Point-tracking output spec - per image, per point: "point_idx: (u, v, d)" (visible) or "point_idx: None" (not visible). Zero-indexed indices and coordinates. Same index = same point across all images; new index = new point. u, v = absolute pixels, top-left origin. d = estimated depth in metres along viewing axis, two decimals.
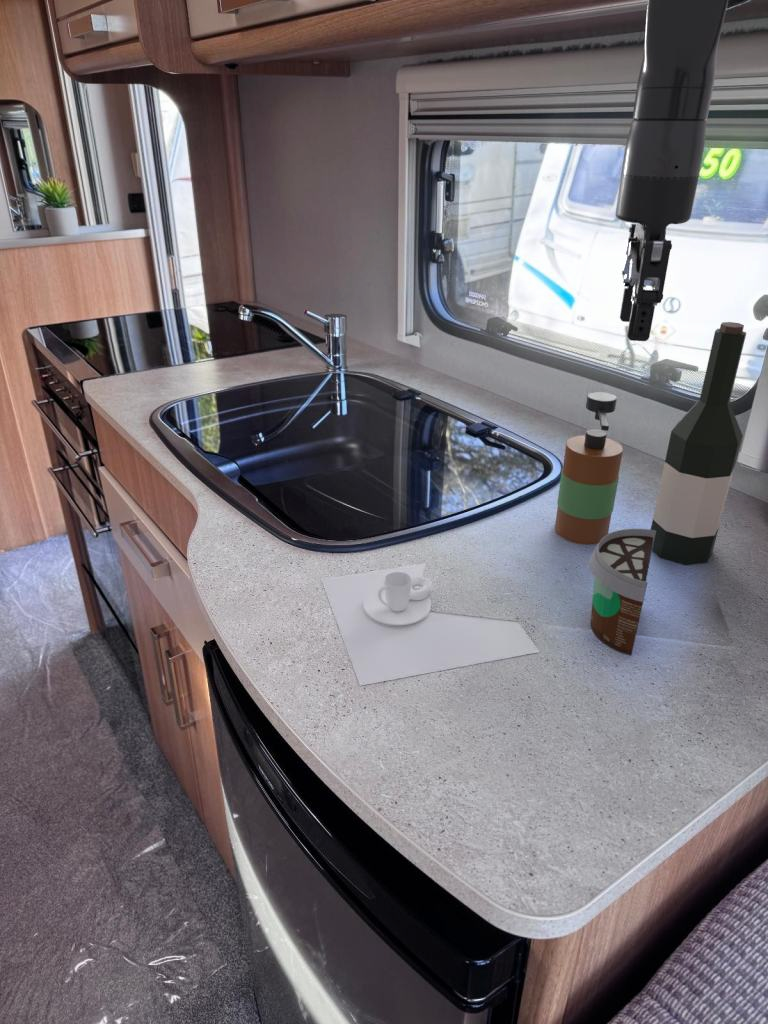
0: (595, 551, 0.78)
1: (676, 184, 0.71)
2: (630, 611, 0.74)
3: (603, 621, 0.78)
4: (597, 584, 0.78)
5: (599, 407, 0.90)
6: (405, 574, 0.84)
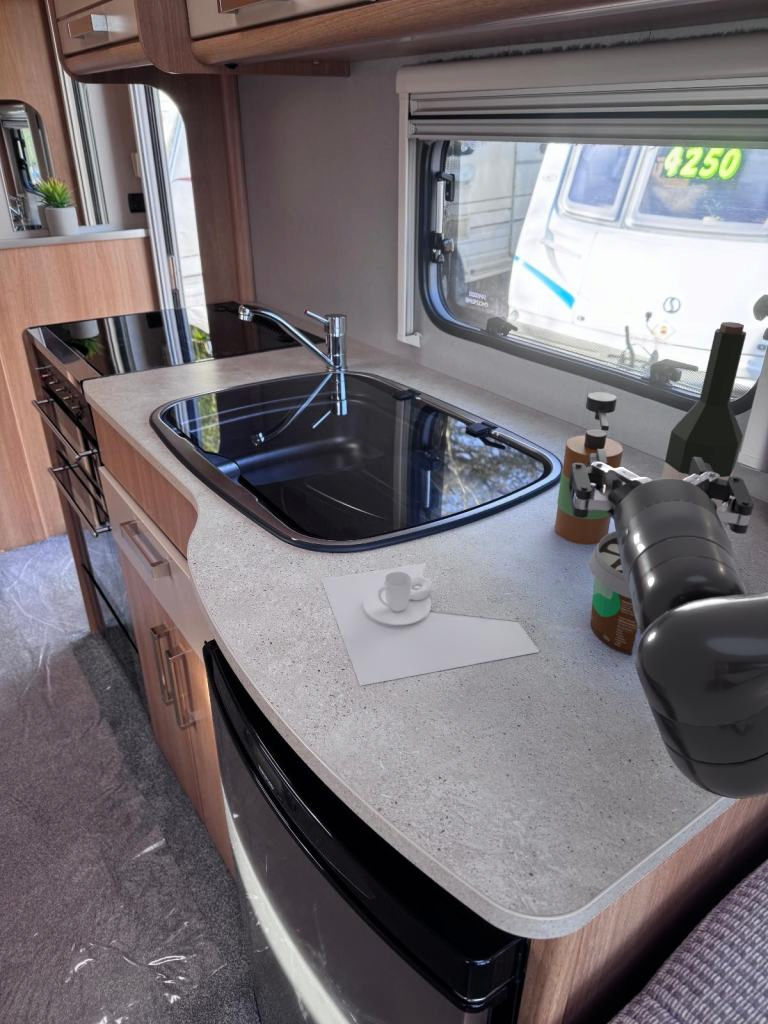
0: (595, 551, 0.78)
1: None
2: (630, 611, 0.74)
3: (603, 621, 0.78)
4: (597, 584, 0.78)
5: (599, 407, 0.90)
6: (405, 574, 0.84)
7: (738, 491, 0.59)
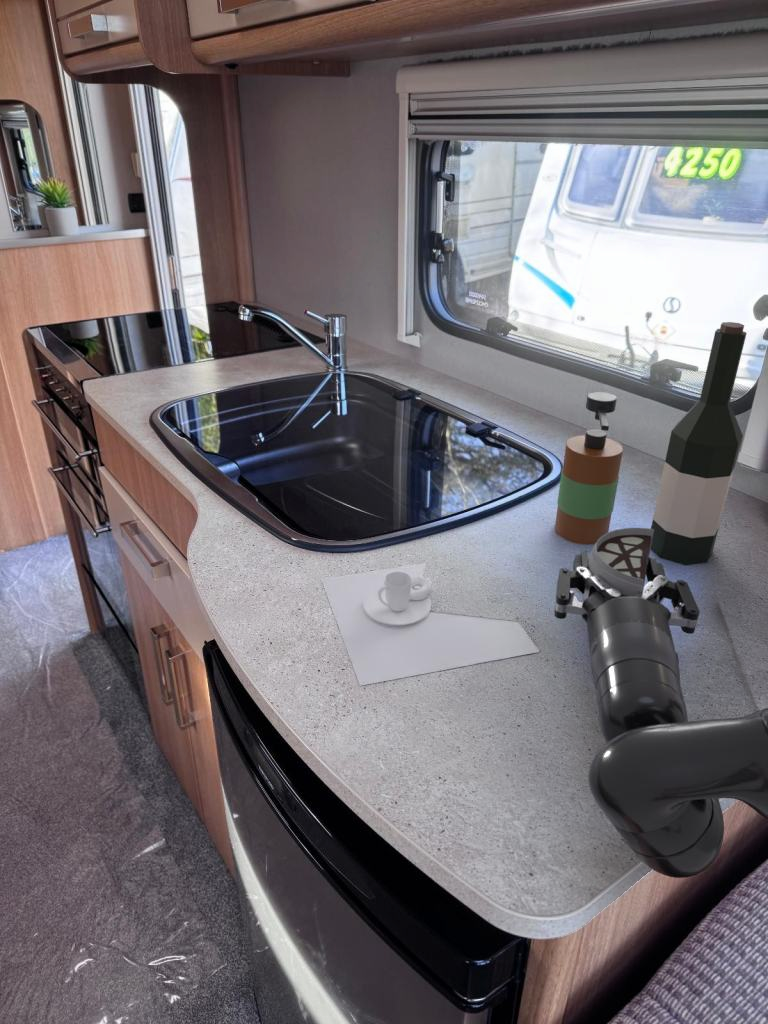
0: (593, 550, 0.78)
1: None
2: None
3: None
4: None
5: (599, 407, 0.90)
6: (405, 574, 0.84)
7: (685, 597, 0.73)
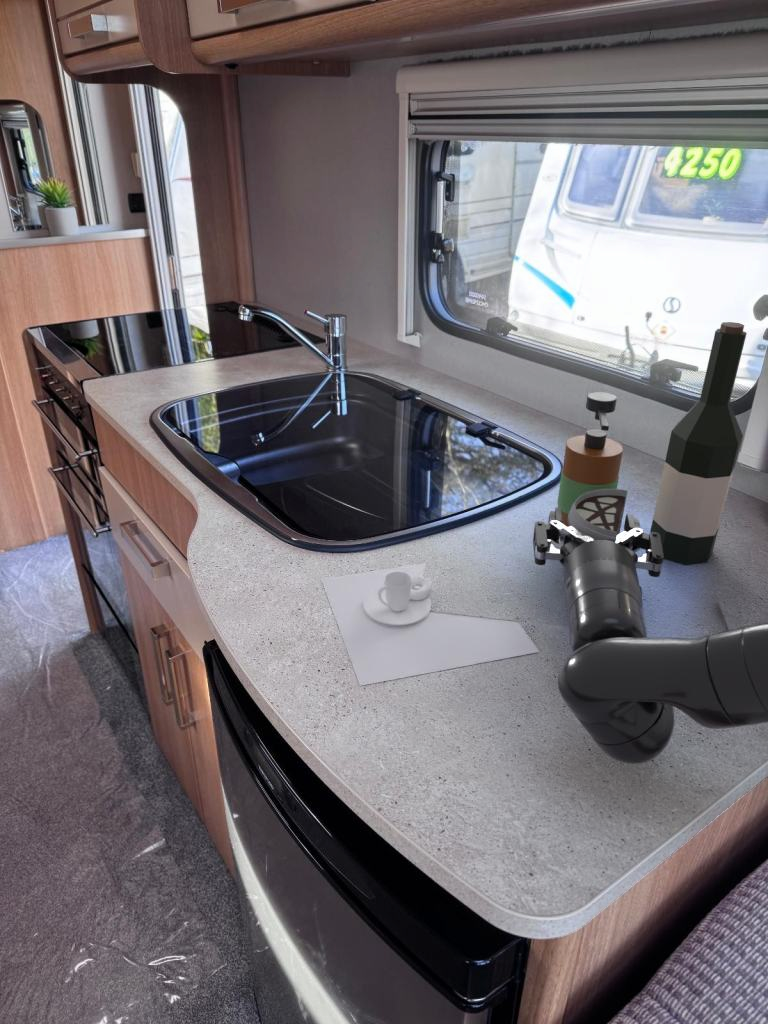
0: (572, 508, 0.87)
1: None
2: None
3: None
4: None
5: (599, 407, 0.90)
6: (405, 574, 0.84)
7: (654, 545, 0.81)
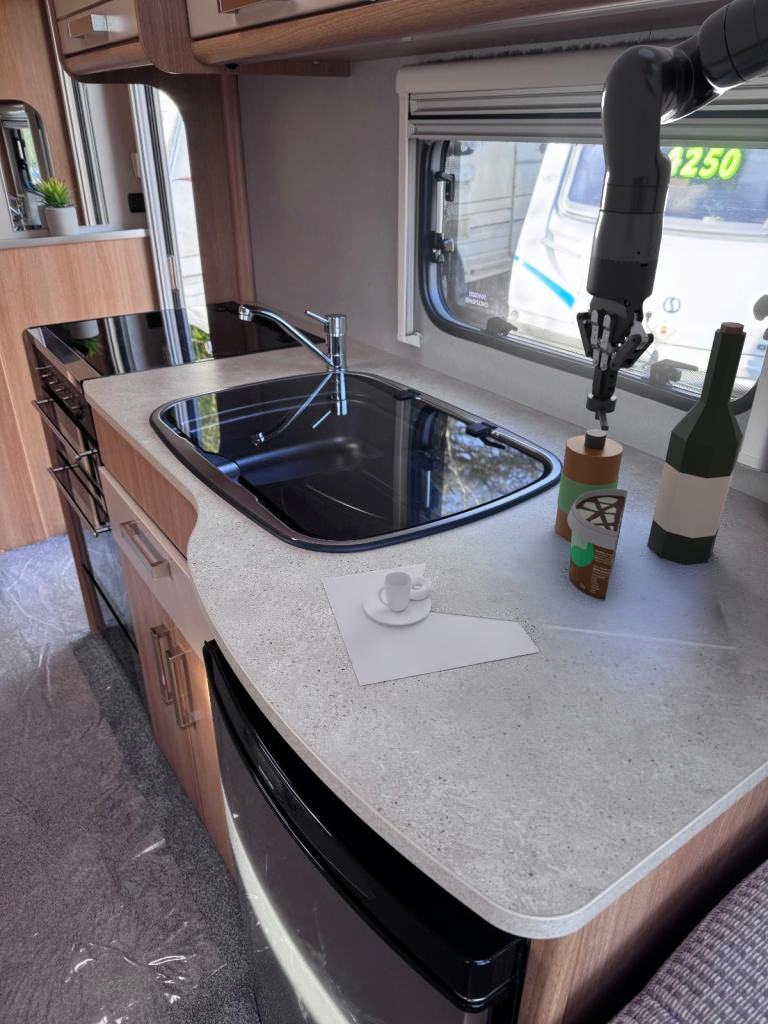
0: (572, 508, 0.87)
1: None
2: (603, 559, 0.83)
3: (579, 571, 0.87)
4: (574, 537, 0.86)
5: (599, 407, 0.90)
6: (405, 574, 0.84)
7: None
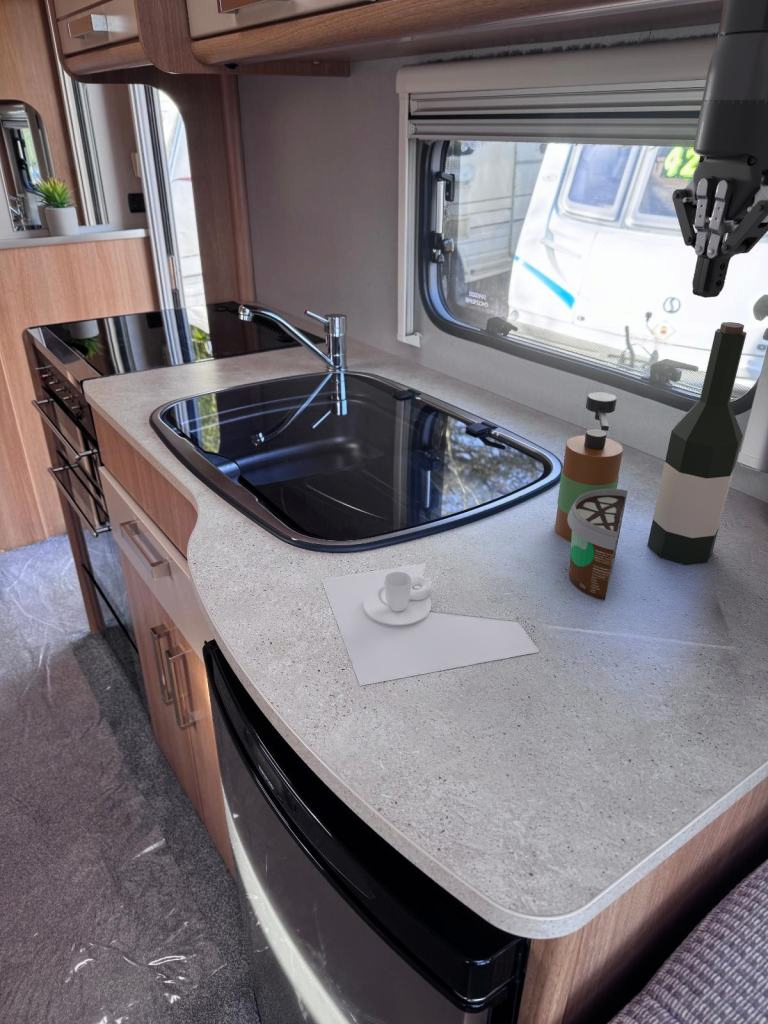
0: (572, 508, 0.87)
1: None
2: (603, 559, 0.83)
3: (580, 571, 0.87)
4: (574, 537, 0.86)
5: (599, 407, 0.90)
6: (405, 574, 0.84)
7: None
